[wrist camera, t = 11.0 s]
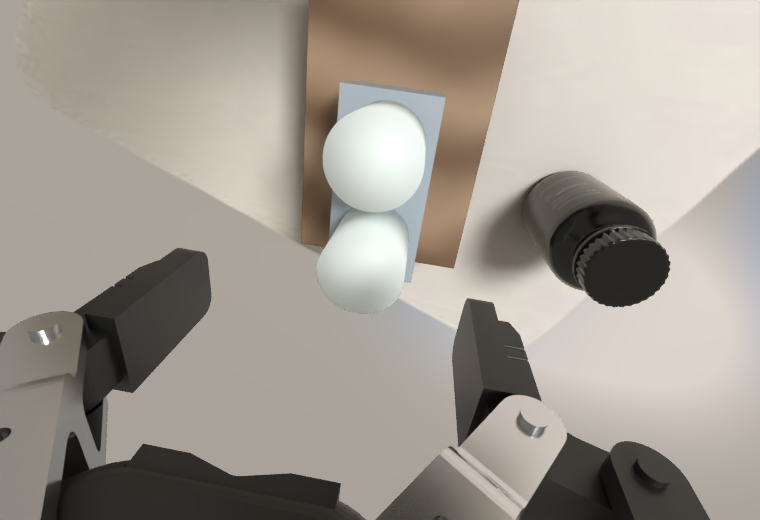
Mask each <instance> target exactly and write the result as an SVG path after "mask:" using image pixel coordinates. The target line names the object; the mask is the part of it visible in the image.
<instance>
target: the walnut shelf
mask: <svg viewBox="0 0 760 520" xmlns="http://www.w3.org/2000/svg"><path fill="white" fill-rule="evenodd" d="M518 3H519V0H309V16H308V47H307V78H306V108H305V139H304V170H303V201H302V232H301V243H304V244H310V245H316V246H322V247H325V246H326V245H327V243H328V241H329V231H330V217H331V203H332V188H331V187H330V185H329V183H328V181H327V179H326V176H325V173H324V169H323V148H324V144H325V141H326V139H327V136H328V134H329V133H330V131H331V129H332V128H333V127H334V125H335V124H336V123H337V117H338V103H339V89H340V82H348V81H363V82H370V83H377V84H384V85H391V86H398V87H405V88H412V89H419V90H425V91H432V92H439V93H443V94H444V95H445V97H446V100H445V105H444V110H443V116H442V121H441V126H440V131H439V137H438V142H437V147H436V152H435V158H434V163H433V168H432V174H431V179H430V184H429V189H428V195H427V200H426V205H425V210H424V216H423V221H422V226H421V231H420V237H419V242H418V247H417V253H416V258H415V262H418V263H424V264H430V265H436V266H442V267H448V268H454V265H455V261H456V257H457V253H458V249H459V245H460V241H461V237H462V233H463V229H464V224H465V220H466V216H467V212H468V208H469V204H470V200H471V196H472V192H473V188H474V183H475V179H476V175H477V171H478V167H479V163H480V159H481V155H482V151H483V147H484V142H485V138H486V134H487V130H488V126H489V122H490V118H491V114H492V110H493V106H494V102H495V97H496V93H497V89H498V85H499V81H500V77H501V73H502V69H503V65H504V61H505V56H506V52H507V48H508V44H509V40H510V36H511V32H512V28H513V24H514V20H515V15H516V11H517V7H518Z"/></svg>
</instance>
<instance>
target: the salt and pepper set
mask: <svg viewBox="0 0 760 520" xmlns="http://www.w3.org/2000/svg"><path fill="white" fill-rule="evenodd" d="M445 100H446V97H445V95H444V94H443V93H439V92H432V91H425V90H419V89H412V88H405V87H398V86H391V85H384V84H377V83H370V82H363V81H348V82H340V89H339V103H338V117H337V123H336V124H335V125H334V127H333V128H332V129H331V131H330V133H329V134H328V136H327V139H326V141H325V144H324V148H323V169H324V173H325V176H326V179H327V181H328V183H329V185H330V187H331V188H332V203H331V217H330V231H329V241H328V243H327V245H326V246H325V248H324V250H323V251H322V253H321V255H320V257H319V259H318V262H317V267H316V274H317V280H318V283H319V286H320V288H321V290H322V291H323V293H324V294H325V296H326V297H327V298H328V299H329V300H330V301H331V302H332V303H334V304H335V305H337V306H338V307H340V308H342V309H344V310H347V311H349V312H353V313H360V314H368V313H375V312H378V311H381V310H383V309H385V308H387V307H389V306H390V305H391V304H393V303H394V302H395V301H396V299H397V298H398V297H399V295H400V294H401V291H402V289H403V285H404V282H410V283H411V279H412V274H413V268H414V263H415V258H416V253H417V247H418V242H419V237H420V231H421V226H422V221H423V216H424V210H425V205H426V200H427V195H428V189H429V184H430V179H431V174H432V168H433V163H434V158H435V152H436V147H437V142H438V137H439V131H440V126H441V121H442V116H443V110H444V105H445Z"/></svg>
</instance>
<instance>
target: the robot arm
mask: <svg viewBox="0 0 760 520" xmlns="http://www.w3.org/2000/svg"><path fill="white" fill-rule="evenodd" d="M210 302H211V288H210V278H209V267H208V259H207V256H206V254H205V253H204V252H200V251H194V250H188V249H182V248H177V249H175V250H174V251H172V252H171V253H169V254H168V255H166V256H165V257H164V258H162V259H161V260H159V261H155V262H153V263H150V264H148V265H145V266H142V267H139V268H138V269H137V270H135V271H134V272H132V273H131V274H129V275H128V276H126V279H122V280H120V281H119V282H117V283H116V284H115V286H114V287H113V286H111V287H110V288H109V289H107V290H106V291H104V292H103V293H101V294H100V295H98V296H97V297H96V298H94V299H93V300H91V301H89V302H88V303H87V304H85V305H84V306H82V307H81V308H79V309H78V310H76V311H75V312H66V311H59V312H49V313H44V314H40V315H36V316H33V317H30V318H28V319H26V320H23V321H21V322H19V323H17V324H16V325H15V326H13V327H12V328H10V329H9V330H8V331H7V332H0V520H365V519H364V518H363V517H362V516H361V515H360V514H359V513H358V512H356V511H355V510H353V509H352V508H351V507H349V506H348V505H346V504H344V503H342V502H340V501H339V493H340V485H341V484H340V483H336V482H331V481H326V480H321V479H316V478H311V477H306V476H301V475H296V474H273V475H255V476H233V475H230V474H228V473H226V472H224V471H223V470H221V469H219V468H217V467H215V466H213V465H211V464H210V463H208V462H206V461H204V460H202V459H200V458H198V457H196V456H195V455H193V454H191V453H187V452H182V451H176V450H172V449H166V448H161V447H157V446H152V445H147V444H143V445H142V446H141V447H140V448H139V450H138V451H137V452H136V454H135V455H134V456H133V457H132V459H131V460H128V461H121V462H115V463H111V464H106V441H107V440H106V439H107V416H108V402H107V398H106V395H107V394H108V393H109V392H110V391H111V390H112V389H115V390H120V391H125V392H131V393H133V392H134V391H135V390H136V389H137V388H138V387H139V386H140V385H141V384H142V382H143V381H144V380H145V379H146V378H147V377H148V376H149V375H150V374H151V372H153V370H154V369H155V368H156V367H157V366H158V365H159V364H160V363H161V362H162V361H163V360H164V358H166V356H167V355H168V354H169V353H170V352H171V351H172V350H173V349H174V348H175V347H176V346H177V344H178V343H179V342H180V341H181V340H182V339H183V338H184V337H185V336H186V335H187V334H188V333H189V332H190V330H191V329H192V328H193V327H194V326H195V325H196V324H197V323H198V322H199V321H200V319H201V318H202V317H203V316H204V315H205V314H206V312H207V311H208V309H209V306H210ZM527 360H528V358H527V356H526V352H525V351H524V346H523V343H522V340H521V337H520V335H519V334H518V332H517V331H516V330H515V329H514V328H513V327H512V326H511V324H510V323H509V322H503V321H498V319H497V315H496V311H495V307H494V304H493V303H492V302H486V301H481V300H475V299H469V298H467V300H466V301H465V304H464V308H463V311H462V315H461V318H460V322H459V326H458V329H457V333H456V337H455V340H454V346H453V356H452V362H453V376H454V391H455V404H456V419H457V433H458V446H459V447H458V448H457V449H456V450H455V449H454V448H453V447H451V446H450V447H447V448H446V449H444V450H443V451H442V452H441V453H440V454H439V455H438V456H437V457H436V458H435V459H434V460H433V461H432V462H431V463H430V464H429V465H428V466H427V467H426V468H425V469H424V470H423V471H422V472H421V474H420V475H419V476H418V477H417V478H416V479H415V480H414V481H413V482H412V483H411V484H410V485H409V486H408V487H407V488H406V489H405V490H404V491H403V492H402V493H401V494H400V495H399V496H398V497H397V498H396V499H395V500H394V501H393V502H392V503H391V504H390V505H389V506H388V507H387V509H385V510H384V511H383V513H382V514H381V515H380V516H379V517H378V518H377V519H376V520H710V519H709V517H708V515H707V514H706V512H705V510H704V508H703V506H702V505H701V503H700V501H699V499H698V498H697V496H696V494H695V492H694V490H693V489H692V487H691V485H690V483H689V482H688V480H687V479H686V477H685V476H684V475H683V473H682V472H681V471H680V470H679V469H678V468H677V467H676V466H675V465H674V464H673V463H672V462H671V461H670V460H668V459H667V458H666V457H664V456H663V455H661V454H660V453H659V452H657V451H655V450H653V449H651V448H649V447H647V446H645V445H642V444H639V443H636V442H630V441H624V442H620V443H617V444H616V445H615V446H613V448H612V450H611V451H610V453H609V452H607V451H604V450H602V449H600V448H598V447H595V446H593V445H591V444H589V443H586V442H584V441H582V440H580V439H578V438H576V437H574V436H572V435H570V434H569V433H567V431H566V428H565V425H564V423H563V421H562V420H561V418H560V417H559V416H558V414H557V413H556V412H555V411H554V410H553V409H551V408H550V407H549V406H548V405H546V404H545V403H543V402H542V401H541V398H540V395H539V392H538V389H537V386H536V383H535V380H534V377H533V374H532V371H531V368H530V365H529V362H527Z"/></svg>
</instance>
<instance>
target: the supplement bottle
mask: <svg viewBox="0 0 760 520" xmlns="http://www.w3.org/2000/svg"><path fill="white" fill-rule="evenodd" d="M523 222H524V226H525V228H526V230H527V232H528V234H529V235H530V237H531V239H532V240H533V242H534V243H535V245H536V247H537V248H538V250H539V251H540V253H541V255H542V256H543V258H544V259H545V261H546V263H547V264H548V266H549V267H550V269H551V271H552V272H553V273H554V274H555V276H556V277H557V278H558V279H559V280H560V281H562V282H563V283H565V284H566V285H568V286H570V287H572V288H575V289H578V290H582V291H585V292H586V294H587V295H588V296H590V297H591V298H592V299H593V300H594V301H597V302H598V303H599V304H604V305H606V306H612V307H618V306H619V307H624V306H631V305H633V304H637V303H640V302H641V301H643V300H646V299H648V298H649V297H650V296H652V295H654V294H655V292H656V291H658V290H659V289H660V287H661V286H662V285H663V284H664V283H665V280H666V279H667V277H668V273H669V271H670V268H669V266H670V261H669V260H668V259H669V256H668V254H667V253H666V250H665V249H664V248H663V247H662V246H661V245H660V243H658V242H657V237H656V229H655V226H654V224H653V221H652V220H651V218H650V217H649V215H648V214H647V213H646V212H645V211H644V210H643V209H641V208H640V207H639V206H637V205H636V204H634V203H633V202H631V201H630V200H628V199H627V198H625V197H624V196H622V195H621V194H619V193H617V192H616V191H614V190H613V189H611V188H610V187H608V186H607V185H605V184H604V183H602V182H600V181H599V180H597V179H596V178H594V177H592V176H590V175H588V174H586V173H583V172H578V171H564V172H559V173H555V174H553V175H550V176H548V177H546V178H545V179H543V180H542V181H540V182H539V183H538V184H537V185H536V186H535V187H534V188H533V189H532V190H531V192H530V193H529V194H528V196H527V198H526V200H525V203H524V207H523Z"/></svg>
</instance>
